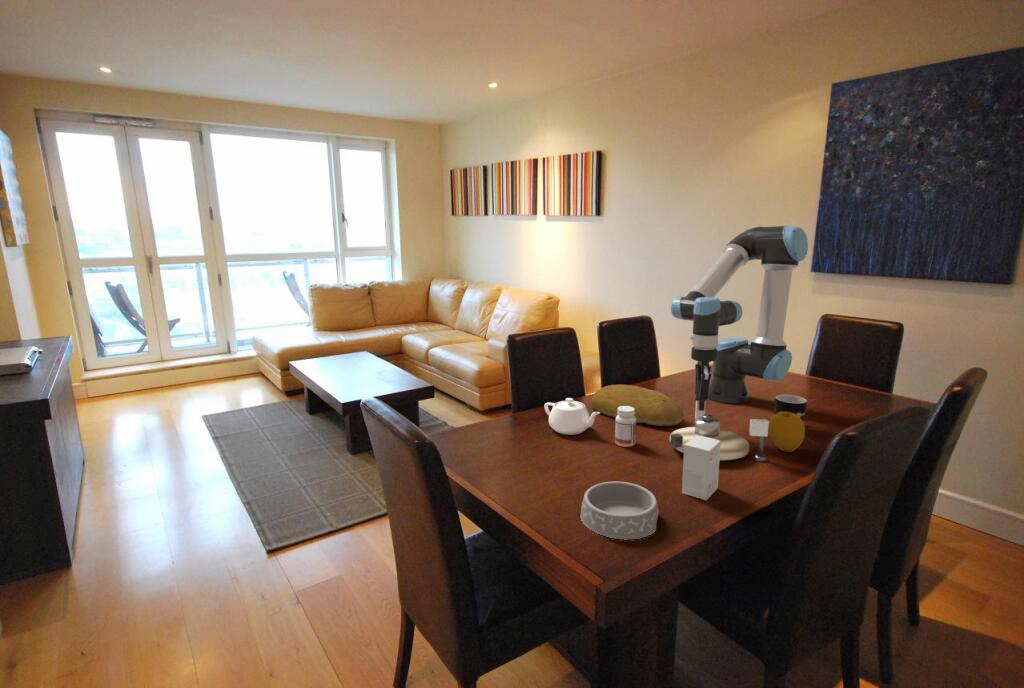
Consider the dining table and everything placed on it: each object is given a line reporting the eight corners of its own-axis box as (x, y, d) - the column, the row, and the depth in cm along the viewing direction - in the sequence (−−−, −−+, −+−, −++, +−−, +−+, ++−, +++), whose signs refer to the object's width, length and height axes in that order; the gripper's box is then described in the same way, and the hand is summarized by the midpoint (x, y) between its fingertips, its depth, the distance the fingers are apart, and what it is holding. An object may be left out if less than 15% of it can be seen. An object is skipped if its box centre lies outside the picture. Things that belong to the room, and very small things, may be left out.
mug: (794, 435, 163) (798, 405, 161) (767, 427, 170) (769, 398, 168) (813, 427, 169) (817, 397, 167) (786, 419, 177) (789, 391, 175)
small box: (693, 481, 135) (696, 434, 132) (718, 488, 131) (721, 440, 128) (680, 493, 129) (683, 444, 126) (706, 501, 125) (709, 450, 122)
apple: (758, 446, 155) (761, 409, 153) (781, 441, 159) (785, 404, 157) (786, 459, 147) (790, 419, 144) (810, 452, 150) (815, 414, 148)
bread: (670, 434, 166) (671, 404, 164) (580, 410, 190) (580, 384, 188) (694, 419, 179) (696, 391, 177) (608, 398, 203) (608, 374, 201)
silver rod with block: (746, 456, 148) (749, 418, 146) (763, 457, 148) (767, 418, 145) (749, 461, 146) (752, 421, 143) (767, 462, 145) (770, 422, 142)
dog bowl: (573, 533, 113) (573, 510, 112) (590, 493, 130) (591, 474, 129) (654, 548, 107) (655, 524, 106) (661, 505, 124) (662, 484, 123)
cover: (689, 430, 161) (690, 413, 160) (709, 427, 163) (710, 411, 161) (704, 438, 154) (705, 421, 153) (723, 435, 156) (725, 418, 155)
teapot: (532, 428, 173) (531, 397, 171) (556, 417, 183) (556, 388, 181) (587, 445, 159) (588, 411, 156) (611, 432, 169) (611, 400, 166)
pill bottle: (626, 438, 163) (627, 403, 161) (639, 445, 158) (640, 409, 156) (610, 441, 161) (611, 407, 158) (623, 448, 155) (624, 413, 153)
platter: (652, 435, 160) (652, 423, 159) (715, 426, 166) (716, 414, 166) (696, 465, 139) (696, 451, 139) (766, 453, 146) (768, 439, 145)
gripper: (688, 342, 168) (684, 411, 173) (695, 351, 156) (691, 425, 161) (712, 343, 167) (707, 412, 172) (721, 352, 155) (716, 426, 160)
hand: (699, 418), depth 166 cm, fingers closed
